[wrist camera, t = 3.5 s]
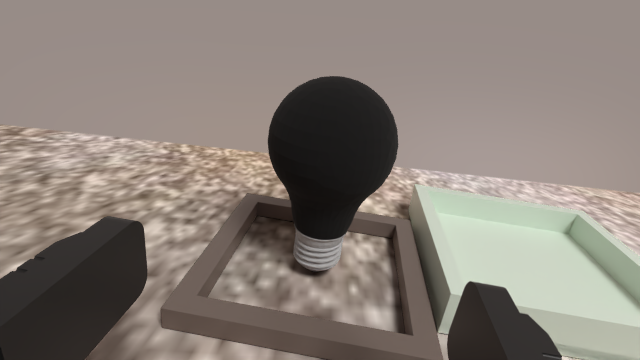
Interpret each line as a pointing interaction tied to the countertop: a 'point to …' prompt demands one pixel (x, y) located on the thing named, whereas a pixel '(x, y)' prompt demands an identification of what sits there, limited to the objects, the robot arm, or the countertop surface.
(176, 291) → the brown square frame
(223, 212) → the countertop surface
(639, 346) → the parts tray
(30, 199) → the countertop surface
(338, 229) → the light bulb
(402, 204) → the countertop surface
